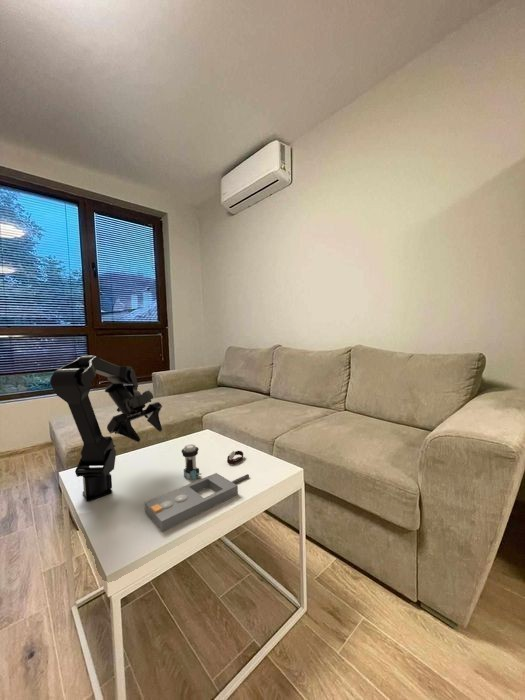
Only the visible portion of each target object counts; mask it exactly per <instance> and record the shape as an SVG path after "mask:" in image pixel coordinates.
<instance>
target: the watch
mask: <svg viewBox="0 0 525 700" xmlns="http://www.w3.org/2000/svg"><path fill="white" fill-rule="evenodd" d="M235 456H241V457H238V458H237V459H234V457H235ZM243 458H244V452H243V451H242V450H236V451H234V450H232V451H230V452H229V454H228V456H227V458H226V459H227V460H226V462H227V463H228V464H229V465H236V464H238V463H240V462H242V460H243Z"/></svg>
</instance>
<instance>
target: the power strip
mask: <svg viewBox="0 0 525 700" xmlns="http://www.w3.org/2000/svg"><path fill="white" fill-rule="evenodd" d="M248 478H250V474H248V473H247V474H245V475H242V476H240V477H239V478H236V479H234V480H229V479H227V478H226V477H224V476H222V475H221V474H219V473H217V472H214V473H213V474H211V475H208V476H205V477H203V478H199V479H197V480H195V481H193V482H191V483H188V484H186V485H183V486H181V487H179V488H176V489H174V490H171V491H168V492H166V493H164V494H161V495H159V496H156V497H154V498H152V499H149V500H147V501H144V512H145V513H146V514H147V516H148V517H149V518H150V519H151V520H152V522H153V523H154V524H155V526H157V527H158V529H159V530H160V531H161V532H162V533H163V532H165V531H167V530H168V529H170V528H173V527H175V526H177V525H178V524H180V523H183V522H185V521H187V520H188V519H191V518H193V517H195V516H197V515H199V514H201V513H203V512H205V511H207V510H209V509H210V508H213V507H215V506H217V505H219V504H222V503H224V502H225V501H227V500H230V499H231V498H233V497H235V496H237V495H239V488H238V486H239V485H238V484H237V483H239V482H242V481H244V480H246V479H248ZM207 488H208V489H210V490H212V492H214V493H212V494H210V495H207V496H205V497H203V496H202V495H200V494H199V493H198V492H200V491H203V490H204V489H207Z"/></svg>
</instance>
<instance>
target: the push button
mask: <svg viewBox="0 0 525 700" xmlns="http://www.w3.org/2000/svg"><path fill="white" fill-rule="evenodd" d="M181 453H182V457H184V458H185V468H184V469H183V477H184V478H186V479H189V480H190V479H193V480H196V479H197V478H199V479H202V477H203V476H202V473H200V468H198V467H197V460H196V459H197V456H198V454H199V447H198V446H196V445H195V444H186V445H185V446H184V448H182V449H181Z"/></svg>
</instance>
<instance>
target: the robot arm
mask: <svg viewBox="0 0 525 700" xmlns="http://www.w3.org/2000/svg"><path fill="white" fill-rule="evenodd" d="M97 374H98V375H100V376H103V377H106V378H107V381H109V383H108V384H107V385H106V386H105V390H104V392H105V393H108V395H109V398H111V400H112V401H113V402H114V404H115V406H116V407H117V409H116V411H117V412H118V413H120V412H121V413H120V414H118V415H114V416H112V418H111V419H110V421H109V422H108V423H107V426H106V430H107V431H108V433H109V434H115V435H121V436H123V437H126V438H129V439H130V440H132V441H134V442H137V443H140V442H141V438H140V436H139V434H138V433H137V431H136V430H135V429H134V428H133V426H132V421H135V420H138V419H140V418H142V417H145V418H146V419H147V420H146V421H147V422H148V423H149V424H150V425H151V426H152V427H153V428H155V429H156V430H157V431H158V432H162V431H163V429H162V424H161V420H160V417H159V414H160V412H161V410H162V407H163V405H162V403H161V402H159V401H156V402H152V400H153V399H154V395H153V393H152V392H151V391H150V390H146V391H144V392H142V394H141V391H140V390H138V387H139V384H138V378H137V375H136V371H135V369H134V368H133V367H132V366H127V365H126V366H125V365H124V366H123V365H117V364H114V363H111V362H109V361H106V360H105V359H102V358H100V357H99V356H97V355H81V356H80V357H77V358H76V359H75V360H74V361H71V362H69V363H67V364H65V365H62V366H61V367H60V368H59V369H56V370H55V371H54V372H53V373H52V375H51V376H50V379H49V382H50V383H49V384H50V386H51V389H53V391H54V393H55V394H56V396H57V397H58V398H61V399H62V400H63V401H64V402H66V403H67V405H68V408H69V410H70V413H71V415H72V418H73V420H74V423H75V425H76V427H77V430H78V432H79V436H80V437H81V440H82V443H83V445H82V448H81V450H80V459H79V461H78V464H77V465H76V468H75V471H74V472H75V475H76V477H82V481H83V482H82V484H83V486H82V487H83V491H82V495H83V497H84V499H85V501H86V502H91V501H94V500H96V499H99V498H101V497H104V496H107V495H110V494H112V492H113V491H112V488H113V483H112V481H113V480H112V474H111V472H112V471H114V469H115V465H116V457H117V451H116V449H115V447H116V445H115V444H114V441H113V440H114V439H113V438H112V437H111V436H104V435H103V433H102V430H101V428H100V425H99V422H98V419H97V416H96V413H95V411H94V407H93V405H92V403H91V399H90V396H89V393H90V392H91V389H92V386H93V385H92V381H93V380H94V379H95V378H96V376H97ZM151 402H152V403H151ZM148 403H150V404H148ZM146 404H148V406H147V407H146ZM145 407H146V408H145Z"/></svg>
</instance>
